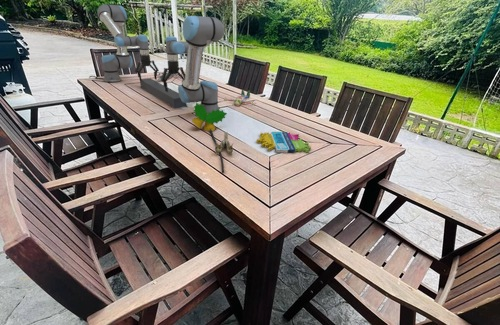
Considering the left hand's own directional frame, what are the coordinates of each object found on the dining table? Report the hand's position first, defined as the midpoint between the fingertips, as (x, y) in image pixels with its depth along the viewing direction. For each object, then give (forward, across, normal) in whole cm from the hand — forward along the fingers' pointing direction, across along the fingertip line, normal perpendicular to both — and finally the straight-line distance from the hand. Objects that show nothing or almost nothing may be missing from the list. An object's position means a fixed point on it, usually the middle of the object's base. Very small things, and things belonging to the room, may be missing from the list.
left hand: (148, 80), depth 234 cm
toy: (+9, -51, +72) cm, 88 cm away
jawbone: (+10, +14, +140) cm, 141 cm away
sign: (+10, -20, +149) cm, 151 cm away
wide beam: (+8, 0, +27) cm, 28 cm away
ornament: (+9, +4, +109) cm, 110 cm away
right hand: (-3, 0, +55) cm, 55 cm away
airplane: (+7, -34, -35) cm, 49 cm away
